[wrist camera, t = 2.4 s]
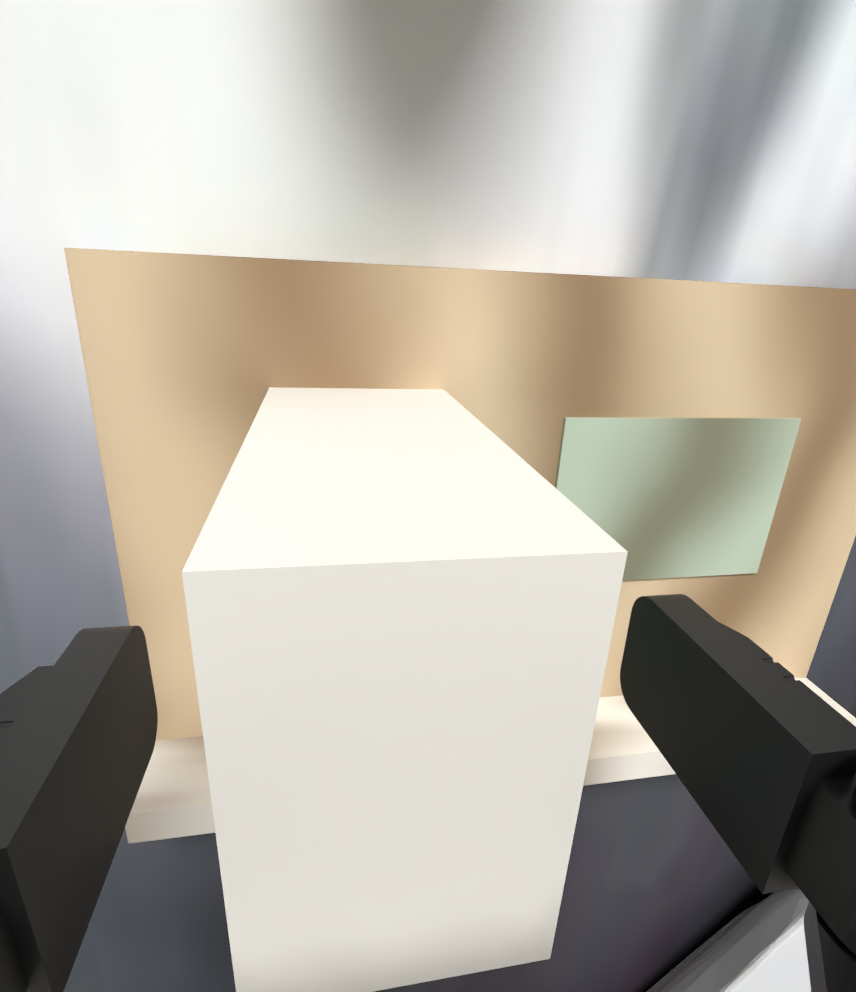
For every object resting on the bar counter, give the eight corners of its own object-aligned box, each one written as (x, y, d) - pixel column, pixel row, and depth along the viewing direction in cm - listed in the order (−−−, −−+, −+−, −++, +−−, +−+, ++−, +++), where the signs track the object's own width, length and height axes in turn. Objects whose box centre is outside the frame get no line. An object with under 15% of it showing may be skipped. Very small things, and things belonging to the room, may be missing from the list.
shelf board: (163, 744, 17) (129, 846, 14) (83, 250, 12) (2, 240, 9) (776, 684, 21) (855, 753, 18) (904, 293, 16) (1044, 296, 13)
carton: (439, 610, 16) (564, 956, 8) (282, 619, 15) (239, 1016, 7) (452, 389, 14) (646, 550, 6) (269, 387, 13) (181, 571, 5)
